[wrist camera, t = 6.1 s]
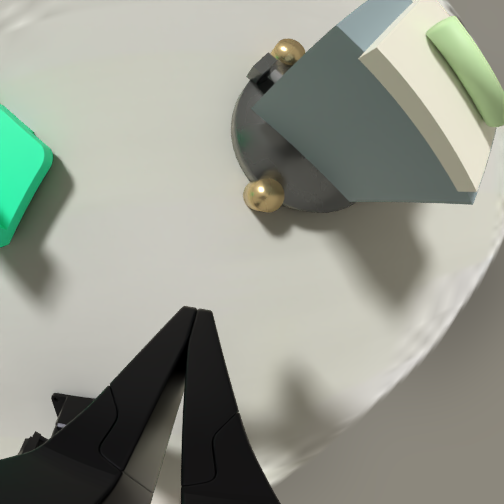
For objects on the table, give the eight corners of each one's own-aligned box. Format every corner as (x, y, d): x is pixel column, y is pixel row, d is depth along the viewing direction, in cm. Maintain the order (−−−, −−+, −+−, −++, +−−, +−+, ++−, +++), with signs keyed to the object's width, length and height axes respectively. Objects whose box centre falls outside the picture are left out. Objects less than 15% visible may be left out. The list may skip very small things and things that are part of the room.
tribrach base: (311, 260, 23) (335, 272, 19) (177, 149, 19) (177, 138, 15) (394, 142, 23) (423, 138, 19) (290, 36, 19) (308, 15, 15)
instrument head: (349, 213, 20) (522, 229, 8) (236, 108, 17) (355, -26, 4) (406, 123, 20) (539, 96, 8) (319, 31, 17) (431, -59, 5)
